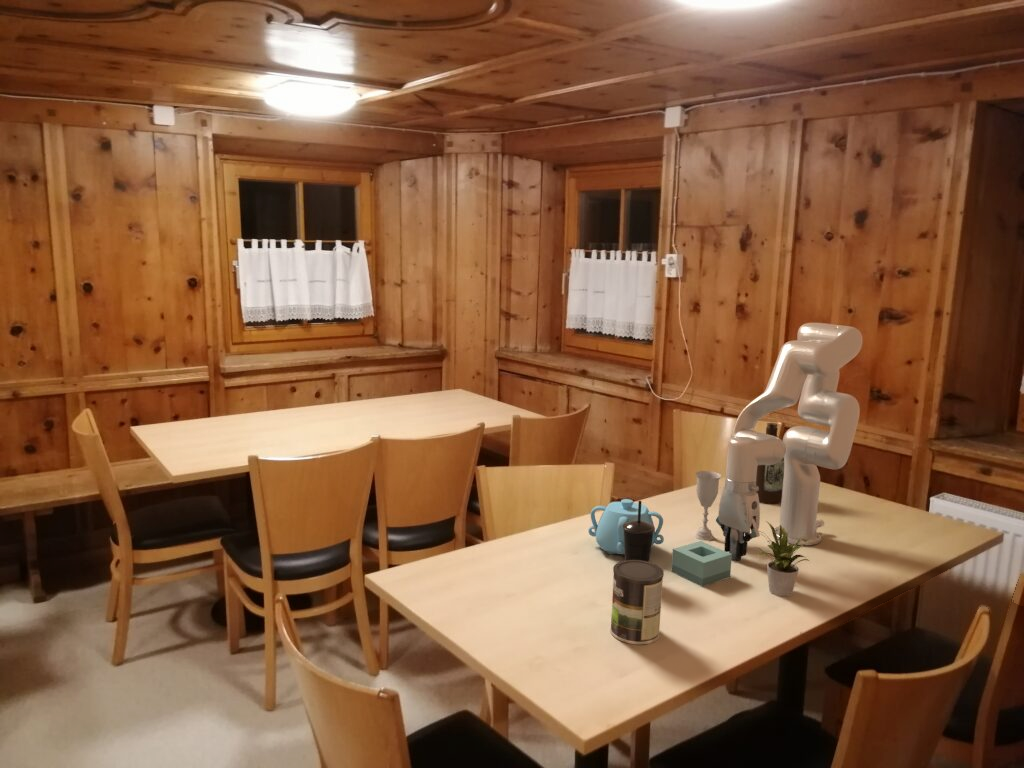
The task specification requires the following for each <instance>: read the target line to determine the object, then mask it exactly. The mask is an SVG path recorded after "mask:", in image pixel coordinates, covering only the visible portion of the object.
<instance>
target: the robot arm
mask: <svg viewBox="0 0 1024 768" xmlns="http://www.w3.org/2000/svg"><path fill="white" fill-rule="evenodd" d="M863 341H864V340H863V335H862V332H861V331H860V330H859V329H857V328H856V327H854V326H848V325H839V324H833V323H824V322H807V323H803V324H802V325H801V326H800V327H799V328H798V330H797V339H796V340H795V339H794V340H789V341H787V342H785V343H784V344H783V345H782V346H781V348H780V350H779V353H778V356H777V358H776V361H775V364H774V366H773V369H772V371H771V374H770V377H769V380H768V382H767V385H766V388H765V389H764V391H763V392H762V393H761V394H759V396H757V397H755V398H754V399H752V400H751V402H749V403H748V404H747V405H746V406H745V407H744V408H743V409H742V411H741V412H740V413H739V415H738V416H737V419H736V421H735V424H734V427H733V429H732V431H731V433H730V434H731V435H730V438H729V440H728V443H727V454H726V455H727V456H726V468H725V481H724V483H725V484H724V487H723V488H722V491H721V495H720V498H719V499H720V500H719V506H718V515H717V517H716V519H715V522H716V523H717V524H718V526H719V527H720V528H721V530H722V535H723V536H724V548H723V549H724V550H723V551H726V552H728V553H729V544H730V530H731V528H734V529H736V530H739V541H740V542H737V552H736V556H737V557H741V558H742V557H745V556H747V552H748V542H750V541H751V540H752V539H754V538H759V537H760V536H761V533H760V532H759V531H760V530H759V529H760V521H761V519H760V518H761V517H760V516H761V515H760V514H761V511H760V510H761V507H760V502H759V497H758V493H756V492H757V491H758V490H759V487H758V486H756V477H757V466H758V465H773V464H776V463H778V462H780V461H781V460H782V459H783V458H784V479H783V490H782V500H781V502H780V515H779V526H776V527H775V528H774V529H775V532H776V535H777V539H778V540H779V532H780V524H781V526H782V528H784V529H785V531H786V533H788V535H787V537H788V544H789V545H790V544H794V545H795V544H796V543H797V542H798V540H799V539H800V538H801V537H802V536H803V535H804V536H803V537H802V539H801V541H800V542H799V543H798V545H797V546H801V545H802V544H804V543H806V542H807V541H810V540H815V541H810V542H808V543H806V544H805V545H804V546H814V545H817V544H819V543H820V542H821V540H822V536H821V535H820V533H818V532H817V530H818V528H821V527H824V525H825V521H824V520H823V519H819V520H818V519H817V517H818V508H819V507H818V506H819V497H820V487H821V475H820V474H821V473H820V472H819V469H818V467H821V468H825V469H829V470H839V469H842V468H843V467H844V466H845V465H846V463H847V462H848V459H849V456H850V454H851V451H852V448H853V443H854V439H855V436H856V432H857V428H858V424H859V419H860V414H861V413H860V411H861V409H860V403H859V401H858V399H856V397H855V396H853V395H852V394H849V393H845V392H844V393H843V392H838V391H837V390H838V384H839V380H840V369H841V368H843V367H844V366H845V365H846V364H848V363H849V362H851V361H852V360H853V359H854V358H855V357H857V355H858V354H859V353H860V351H861V350H862V347H863ZM798 400H799V401H798ZM797 403H798V406H797V415H798V416H799V418H800V419H801V420H803V421H805V422H809V423H812V424H816V425H820V426H825V427H830V429H829V430H830V431H827V430H822V429H818V428H813V427H810V426H805V425H804V426H803V425H794V426H793V427H790V428H789V429H787V430H786V432H785V433H784V434H783V437H782V439H781V438H780V437H775V436H772V435H768V434H766V433H764V432H760V431H756V430H754V429H755V427H756V425H757V423H758V422H759V421H760V420H761V419H762V418H763V417H765V416H766V415H767V414H769V413H772V412H775V411H778V410H782V409H785V408H789V407H792V406H794V405H796V404H797ZM755 491H756V492H755ZM751 529H752V530H751ZM756 530H758V531H756ZM789 530H790V531H789ZM758 533H760V534H758ZM782 538H783V536H782Z"/></svg>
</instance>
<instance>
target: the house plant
mask: <svg viewBox="0 0 1024 768" xmlns="http://www.w3.org/2000/svg"><path fill="white" fill-rule="evenodd" d="M765 522H766V523H767V524H768V526H769V527H770V529H771V533H772V536H773V539H774V541H772V540H771V539H770V538H768V537H767V536H766V535H765V534H764V532H762V531H761V530H759V529H758V530H756V531H759V533H758V534H760V536H763V537H764V538H766V537H767V538H768V539H769V540H768V539H767V538H766V541H767V543H768V544H767V547H768V548H769V549H770V550H771V551H772V553H773V554H772V553H770V552H767V551H763V550H762V548H760V547H756V546H754V549H755V548H756V549H759V550H760V551H761V552H759V553H758V554H757V556H756V557H760V556H762V555H763V556H764V555H770V556H771V557H773V560H770V561H769V562H767V564H766V568H767V569H766V571H767V579H768V590H769V593H771V594H772V595H774V596H778V597H790V596H792V594H793V592H794V588H795V585H796V581H797V577H798V573H799V567H798V566H797V565H796V564H798V563H800V562H803V561H809V562H810V560H809V559H807V557H806V556H804V555H803V554H796V552H797V551H798V549H800V548H801V549H802V547H804V546H806V545H805V544H806V543H808V542H810V541H815V540H810V541H807V542H806V543H804V544H802V545H798V543H799V542H800V541H801V539H802V537H803V536H804V535H803V536H802V537H801V538H800V539H799V540H798V542H797V543H796V544H790V543H788V537H787V535H788V533H786V531H785V529H784V528H782V526H781V524H780V523H779V525H780V532H779V539H777V535H776V532H775V529H774V526H773V525H772V524H771V523H770V522H769V521H766V520H765ZM751 530H752V529H750V531H751ZM789 531H790V530H789ZM761 533H762V534H761ZM764 535H765V536H764ZM782 536H783V538H782ZM794 554H795V555H794ZM798 558H802V559H800V560H798V561H796V560H797V559H798ZM794 561H796V562H795V563H793V562H794Z"/></svg>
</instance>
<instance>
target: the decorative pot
mask: <svg viewBox="0 0 1024 768" xmlns="http://www.w3.org/2000/svg"><path fill="white" fill-rule="evenodd" d="M638 503H639V502H638ZM638 503H637V502H635V501H633V500H632V499H629V498H628V499H627V498H623V499H621V501H612V502H610V503H609V504H607V506H604V505H596V506H595V507H593V508H592V509H591V511H590V519H591V523H592V526H589V527H588V535H590V536H591V537H595V541H596V542H597V544H598V546H599V548H601V550H602V551H605V552H606V554H608V555H615V554H618V555H624V556H625V548H624V529H623V524H624V523H626V522H630V521H634V520H638ZM596 511H602V514H601V517H600V518H599V521H598V522H597V520H596V519H597V518H596V516H595V515H596V514H595V513H596ZM652 516H653V517H656V518H657V519H658V525H657V528H656V529H655V531H654V532H653V538H652V545H651V549H652V548H653V546H654V545H661V544H663V543H664V540H665V538H664V536H663V535H662V534H660V532H661V530H662V527H663V525H664V518H663V516H662V515H661V514H660V513H659V512H657V511H654V510H651V511H649V509H648V507H647V506H646V505H644V504H642V503H641V521H645V522H647V523H650V524H652V525H653V526H654V527H655V524H654V521H653V518H652ZM593 530H594V531H593ZM658 538H659V540H658Z"/></svg>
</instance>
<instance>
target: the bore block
mask: <svg viewBox="0 0 1024 768" xmlns="http://www.w3.org/2000/svg"><path fill="white" fill-rule="evenodd" d="M671 556H672V557H671V573H674V574H675V575H677V576H680V577H681V578H683V579H685V580H688V581H690V582H692V583H693V584H696V585H698V586H700V587H706V586H708V585H712V584H714V583H717V582H720V581H723V580H726V579H729V578H731V571H732V561H731V559H732V554H730V553H729V552H726V551H724V550H723V549H720V548H718V547H716V546H714V545H712V544H709V543H707V542H704V541H703V540H699V541H696V542H693V543H689V544H684V545H682V546H678V547H674V548H672V554H671Z"/></svg>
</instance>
